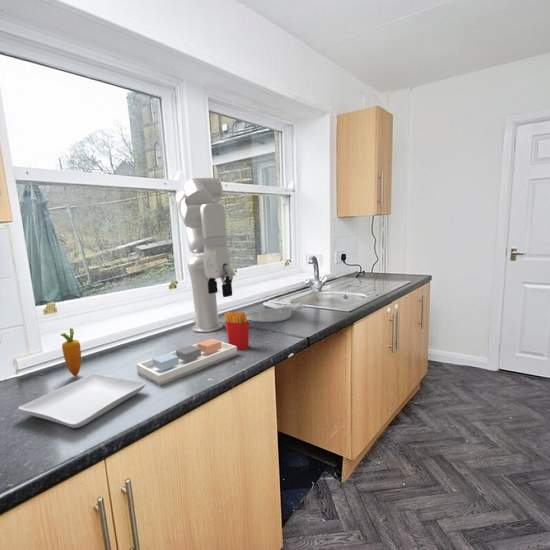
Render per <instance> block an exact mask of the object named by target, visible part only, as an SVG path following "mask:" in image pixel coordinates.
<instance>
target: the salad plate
mask: <svg viewBox="0 0 550 550" xmlns="http://www.w3.org/2000/svg"><path fill="white" fill-rule="evenodd" d="M146 385H147V382H143V381H138V380H134V379H128V378H123V377H117V376H112V375H106V374H100V373H92V374H89V375H87V376H85V377H82V378H80V379H78V380H75V381H73V382H71V383H68V384H67V385H66V384H65V385H63V386H62V387H60V388H56V389H54V390H53V391H50V392H48V393H46V394H44V395H42V396H39V397H38V398H35V399H33V400H31V401H29V402H27V403H24V404H22V405H20V406H18V408H17V409H18V411H20V412H21V413H23V414H26V415H29V416H32V417H36V418H40V419H44V420H47V421H50V422H55V423H57V424H61V425H64V426H67V427H69V428H72V429H76V428H82V427H83V426H86V425H88V424H89V423H90V422H91V421H93V420H95V419H97V418H99V417H100V416H102V415H104V414H105V413H107V412H109V411H110V410H112V409H113V408H114V409H115V407H118V406H119V405H120V404H122V403H123V402H126V401H127V400H128V399H130V398H132V397H134V396H135V395H137V394H138V393H140V392H141V391H142V390H143V389H144V388H145V387H146Z"/></svg>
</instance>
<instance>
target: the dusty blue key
mask: <svg viewBox="0 0 550 550" xmlns="http://www.w3.org/2000/svg"><path fill="white" fill-rule="evenodd" d="M151 359H152V361H153V366H154V367H156V368H158V369H160V370H165V369H168V368H170V367H173V366H176V365H178V364H179V358H178V356H176V355H173V354H171V352H168V353H164V354H162V355H161V354H160V355H159V356H155V357H152V358H151Z"/></svg>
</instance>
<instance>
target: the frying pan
mask: <svg viewBox="0 0 550 550" xmlns="http://www.w3.org/2000/svg"><path fill="white" fill-rule="evenodd" d="M262 305H263V309H262V310H257V311H251V312H247V313H245V314H246V315H247V321H250V320H251V322H257V321H258V323H275V322H281V321H282V322H283V321H286V320H288V319H290V318H291V316H292V310H293V311H295V312H300V311H301V310H302V309H305V308H306V305H305V304H304V303H299V302H288V303H284V304H281V305H280V304H277V303H274V302H270V301H265V302H263V303H262Z"/></svg>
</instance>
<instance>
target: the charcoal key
mask: <svg viewBox="0 0 550 550" xmlns="http://www.w3.org/2000/svg"><path fill="white" fill-rule="evenodd" d="M175 351H176V356H178V358H179V359H181V360H183V361H186V362H187V361H189V360H192V359H195V358H197V357H200V356H201V349H200V348H197V347H194V346H192V345H188V346H185V347H182V348H179V349H176V350H175Z"/></svg>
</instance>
